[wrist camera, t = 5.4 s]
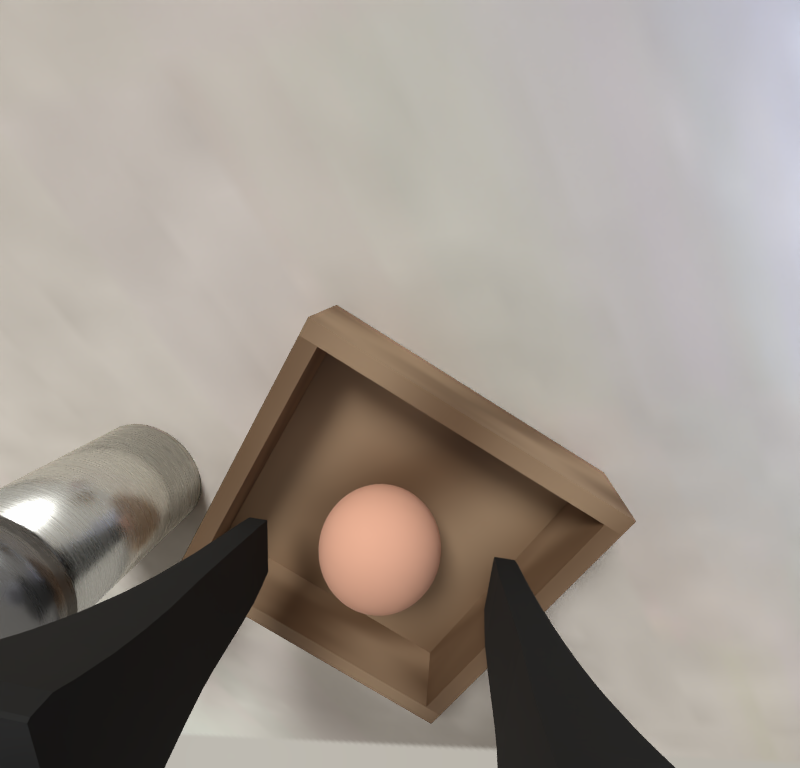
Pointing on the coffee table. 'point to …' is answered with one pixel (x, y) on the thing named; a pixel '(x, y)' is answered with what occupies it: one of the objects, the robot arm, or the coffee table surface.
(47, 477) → the shaker
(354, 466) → the tray
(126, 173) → the coffee table surface
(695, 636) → the coffee table surface
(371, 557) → the ball
